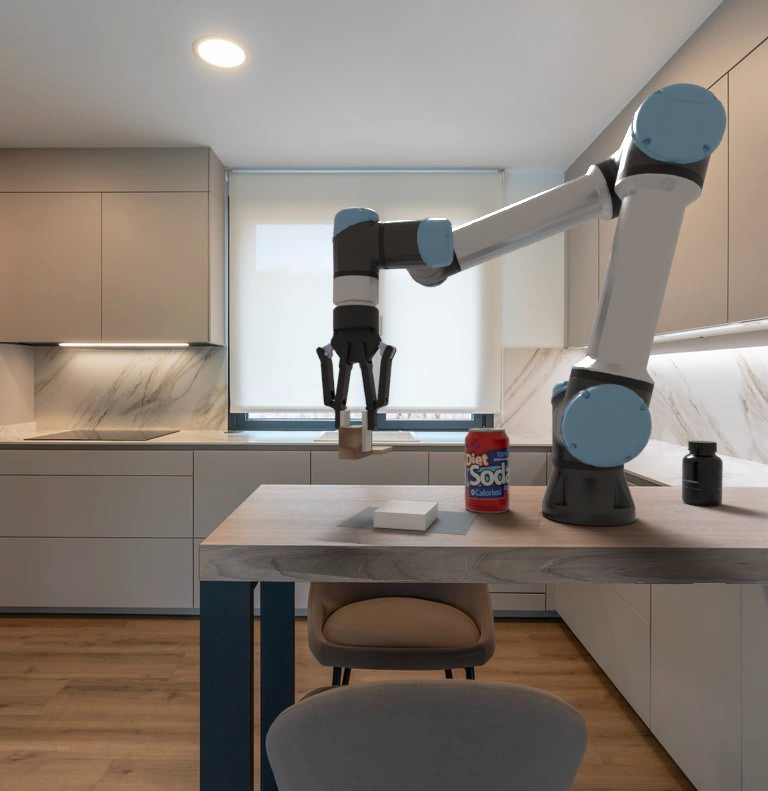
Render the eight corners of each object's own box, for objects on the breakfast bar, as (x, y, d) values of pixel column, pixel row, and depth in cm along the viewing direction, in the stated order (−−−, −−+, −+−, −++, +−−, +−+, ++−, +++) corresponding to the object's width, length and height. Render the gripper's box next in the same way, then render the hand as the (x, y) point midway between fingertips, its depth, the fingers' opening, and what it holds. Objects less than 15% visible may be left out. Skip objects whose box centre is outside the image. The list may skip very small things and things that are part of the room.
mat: (478, 516, 97) (478, 512, 97) (465, 538, 82) (465, 534, 82) (368, 509, 103) (368, 506, 103) (336, 529, 87) (336, 525, 87)
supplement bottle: (680, 504, 107) (680, 441, 107) (683, 499, 113) (683, 439, 113) (722, 508, 104) (722, 443, 104) (723, 502, 110) (722, 440, 110)
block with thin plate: (392, 451, 102) (392, 423, 102) (365, 460, 87) (365, 427, 87) (361, 450, 104) (361, 423, 104) (329, 458, 89) (329, 427, 89)
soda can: (496, 506, 105) (496, 427, 105) (517, 515, 98) (517, 429, 98) (457, 509, 103) (457, 427, 103) (476, 518, 96) (476, 430, 96)
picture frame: (437, 502, 93) (425, 514, 83) (437, 517, 93) (425, 531, 83) (391, 499, 95) (373, 511, 86) (391, 514, 95) (373, 528, 86)
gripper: (409, 308, 93) (409, 449, 93) (319, 312, 98) (319, 447, 98) (397, 300, 86) (397, 454, 86) (301, 305, 90) (300, 451, 90)
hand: (355, 450), depth 92 cm, fingers closed on block with thin plate, 3 cm apart
